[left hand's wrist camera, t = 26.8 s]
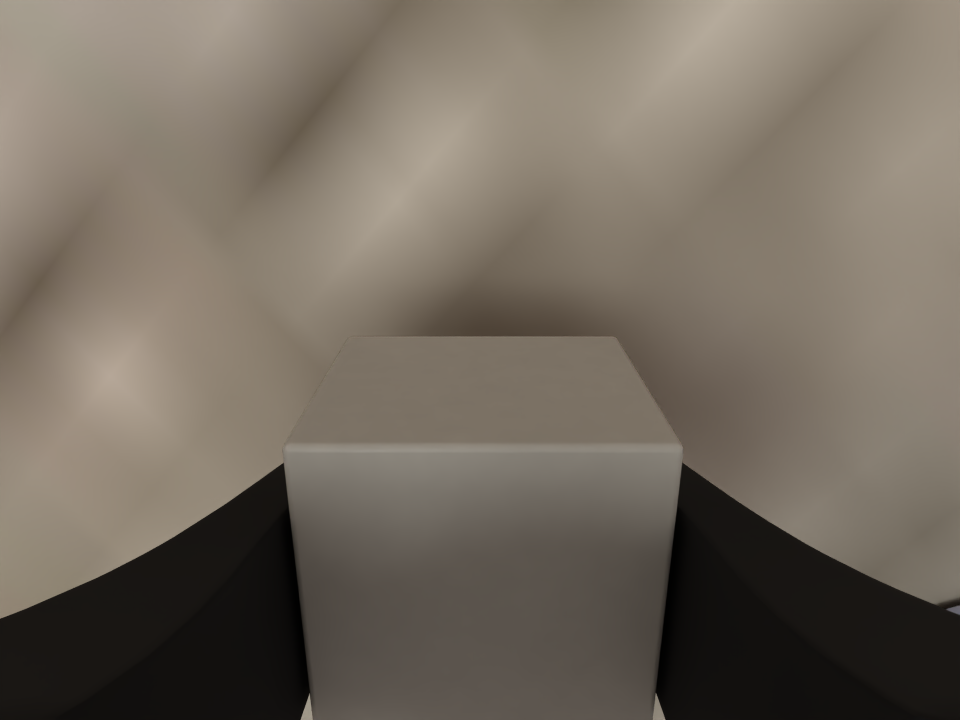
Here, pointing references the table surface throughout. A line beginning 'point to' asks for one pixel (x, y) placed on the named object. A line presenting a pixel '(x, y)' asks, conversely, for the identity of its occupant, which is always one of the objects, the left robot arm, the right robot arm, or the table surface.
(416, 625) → the grey square block
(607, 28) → the table surface
